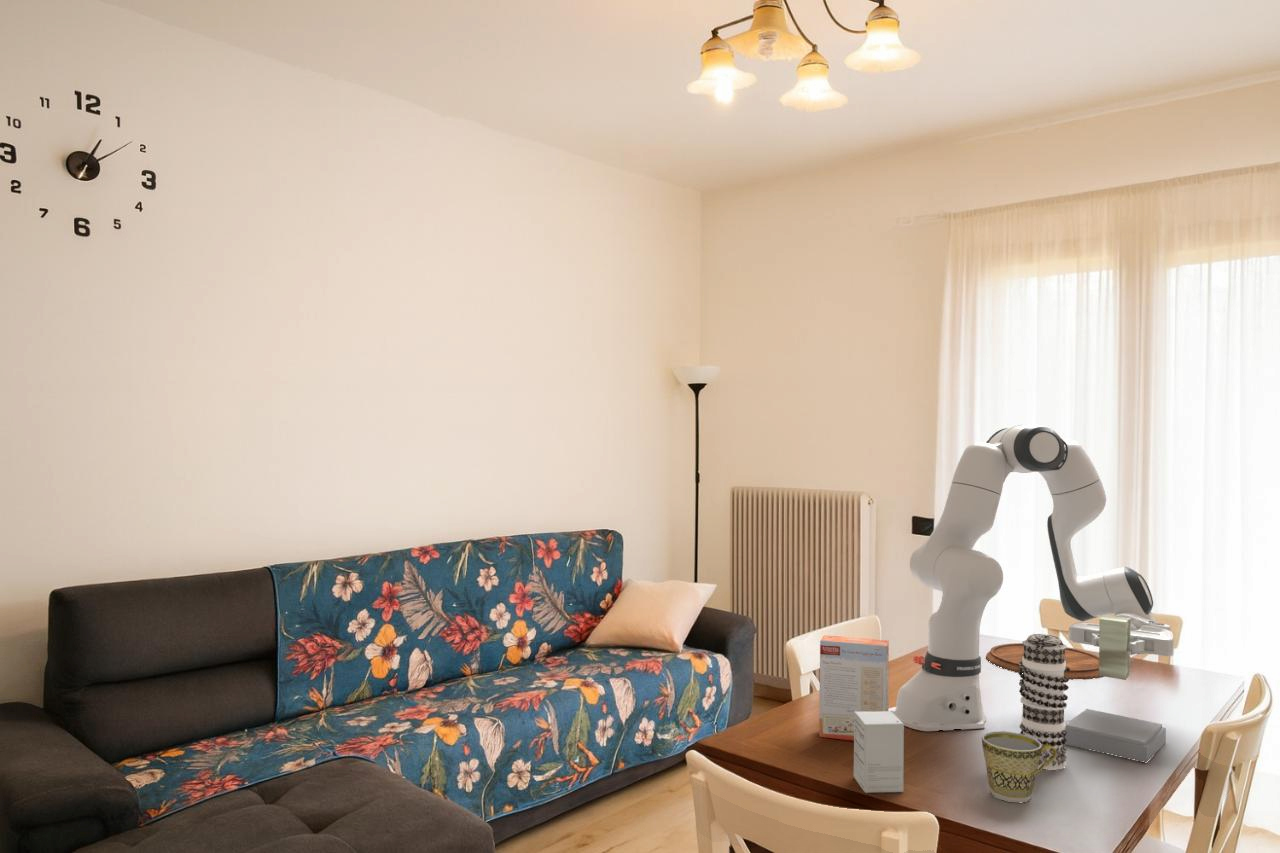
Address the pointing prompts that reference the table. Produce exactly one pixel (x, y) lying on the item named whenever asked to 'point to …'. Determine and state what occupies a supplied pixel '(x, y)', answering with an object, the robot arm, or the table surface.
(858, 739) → the supplement box
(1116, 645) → the tall block
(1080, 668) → the cutting board
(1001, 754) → the ceramic cup
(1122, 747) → the plinth
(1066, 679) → the decorative candle
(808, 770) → the table surface
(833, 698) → the cracker box
